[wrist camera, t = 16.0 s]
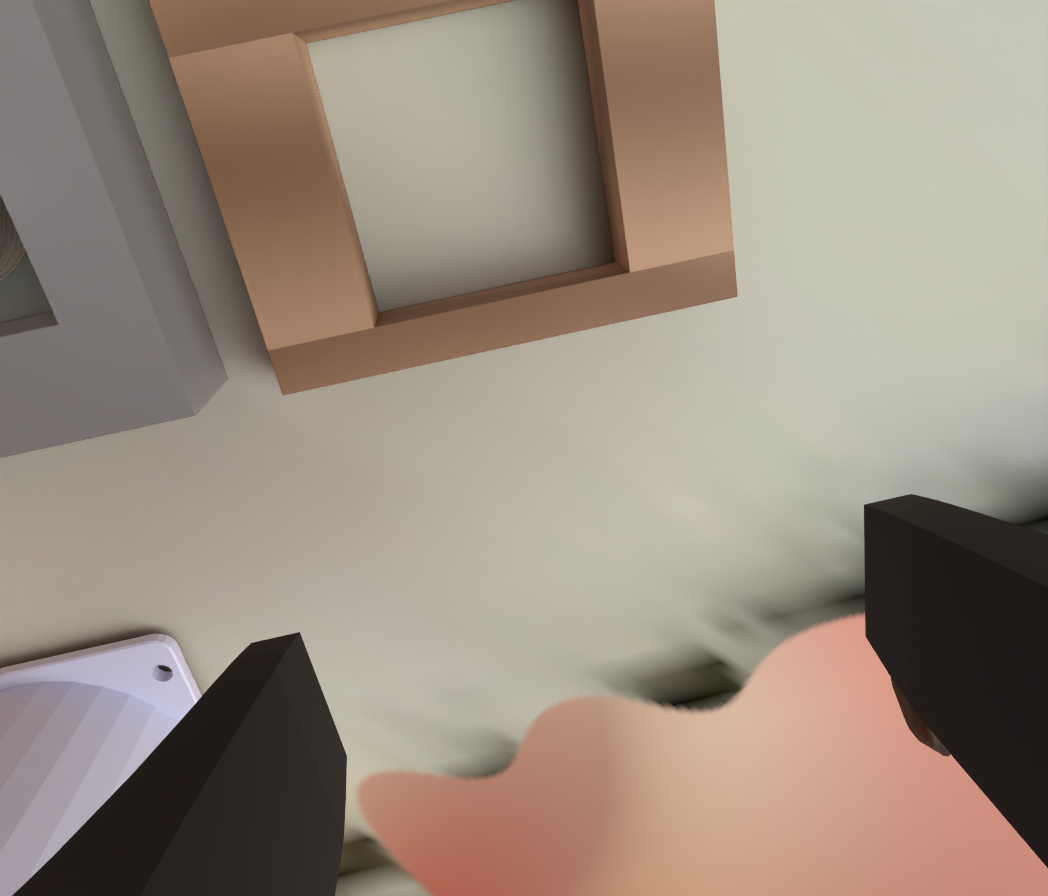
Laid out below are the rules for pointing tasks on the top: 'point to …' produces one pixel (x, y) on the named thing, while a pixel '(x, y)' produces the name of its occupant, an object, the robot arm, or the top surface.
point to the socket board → (326, 218)
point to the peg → (8, 243)
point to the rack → (88, 247)
